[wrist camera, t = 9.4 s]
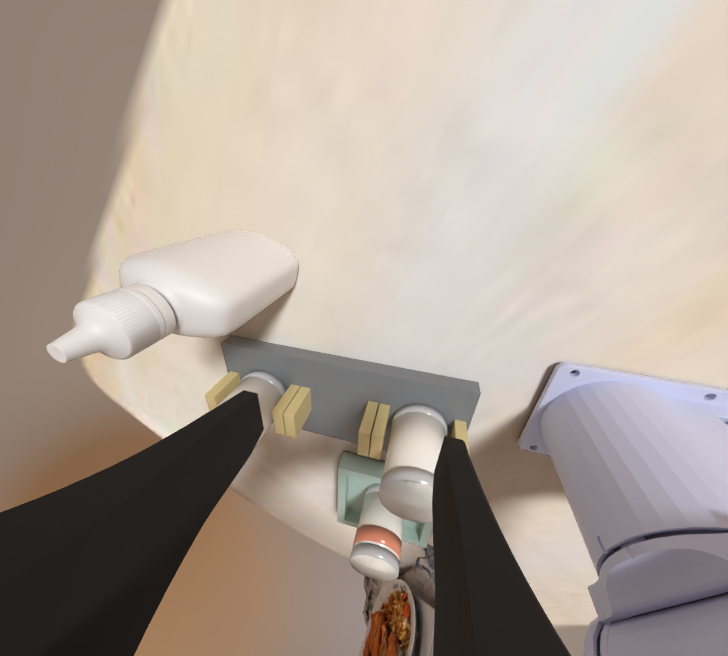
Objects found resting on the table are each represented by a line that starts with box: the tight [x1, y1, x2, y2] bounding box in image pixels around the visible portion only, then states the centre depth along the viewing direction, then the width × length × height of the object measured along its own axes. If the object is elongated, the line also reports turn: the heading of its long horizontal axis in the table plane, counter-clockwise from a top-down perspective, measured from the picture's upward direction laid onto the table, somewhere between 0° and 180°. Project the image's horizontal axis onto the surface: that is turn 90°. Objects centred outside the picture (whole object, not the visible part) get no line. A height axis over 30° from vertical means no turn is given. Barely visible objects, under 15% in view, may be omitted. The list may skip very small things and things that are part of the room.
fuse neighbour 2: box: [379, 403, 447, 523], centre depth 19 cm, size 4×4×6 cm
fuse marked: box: [350, 483, 404, 581], centre depth 25 cm, size 4×4×6 cm
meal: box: [359, 545, 435, 656], centre depth 30 cm, size 15×4×13 cm, turn 149°
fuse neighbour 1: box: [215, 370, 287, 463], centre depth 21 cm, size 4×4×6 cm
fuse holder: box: [205, 336, 481, 460], centre depth 21 cm, size 20×8×4 cm, turn 87°
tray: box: [337, 451, 433, 548], centre depth 28 cm, size 10×10×2 cm
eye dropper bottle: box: [47, 230, 299, 363], centre depth 14 cm, size 4×6×12 cm
